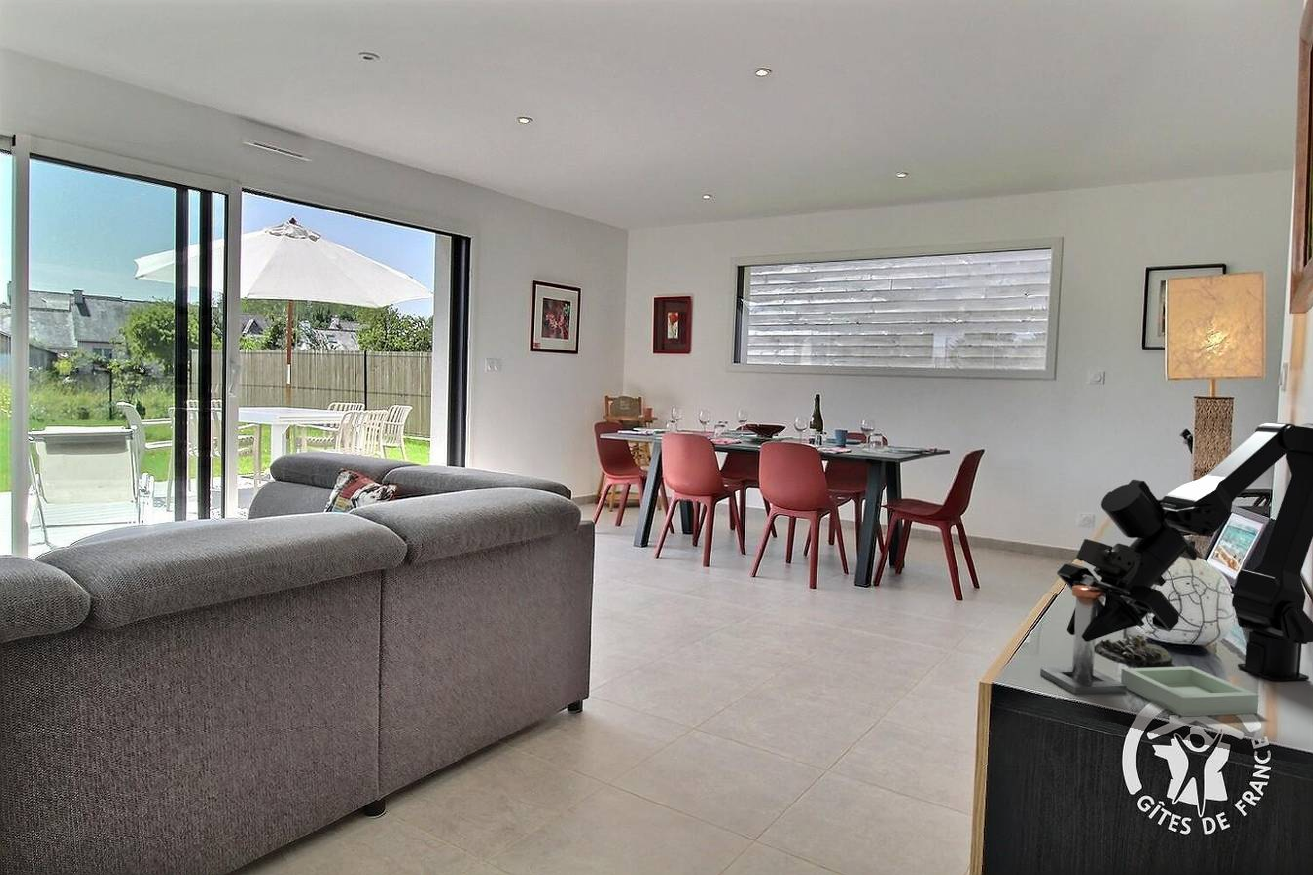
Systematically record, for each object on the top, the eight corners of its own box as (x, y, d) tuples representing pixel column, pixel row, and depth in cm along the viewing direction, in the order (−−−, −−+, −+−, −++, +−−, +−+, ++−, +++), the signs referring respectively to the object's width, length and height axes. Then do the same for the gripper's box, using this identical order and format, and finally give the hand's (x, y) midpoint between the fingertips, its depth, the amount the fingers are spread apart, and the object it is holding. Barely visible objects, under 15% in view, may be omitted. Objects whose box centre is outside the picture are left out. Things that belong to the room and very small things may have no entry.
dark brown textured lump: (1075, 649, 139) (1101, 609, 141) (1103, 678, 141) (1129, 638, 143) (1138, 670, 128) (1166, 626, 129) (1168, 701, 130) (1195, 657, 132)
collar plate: (1088, 673, 126) (1088, 666, 126) (1126, 692, 118) (1126, 685, 118) (1040, 674, 125) (1040, 668, 125) (1074, 694, 117) (1075, 687, 117)
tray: (1190, 682, 123) (1191, 666, 123) (1257, 713, 112) (1258, 694, 112) (1120, 685, 121) (1121, 668, 121) (1181, 716, 110) (1183, 697, 110)
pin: (1085, 678, 124) (1090, 585, 123) (1103, 687, 120) (1109, 592, 119) (1060, 678, 123) (1065, 585, 122) (1078, 688, 119) (1084, 592, 118)
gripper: (1071, 511, 130) (1004, 582, 129) (1166, 533, 112) (1089, 616, 110) (1112, 560, 132) (1046, 631, 131) (1212, 589, 114) (1137, 672, 112)
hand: (1076, 636), depth 121 cm, fingers closed on pin, 3 cm apart
